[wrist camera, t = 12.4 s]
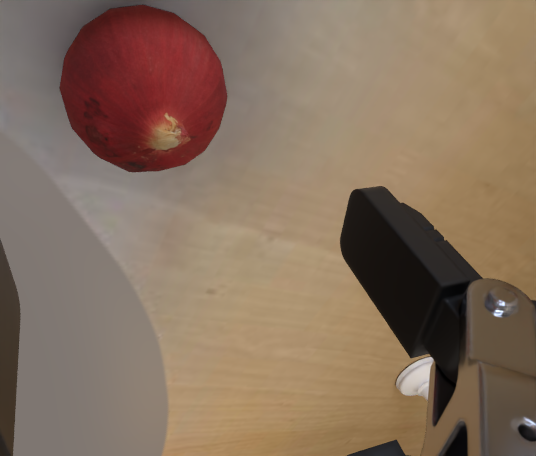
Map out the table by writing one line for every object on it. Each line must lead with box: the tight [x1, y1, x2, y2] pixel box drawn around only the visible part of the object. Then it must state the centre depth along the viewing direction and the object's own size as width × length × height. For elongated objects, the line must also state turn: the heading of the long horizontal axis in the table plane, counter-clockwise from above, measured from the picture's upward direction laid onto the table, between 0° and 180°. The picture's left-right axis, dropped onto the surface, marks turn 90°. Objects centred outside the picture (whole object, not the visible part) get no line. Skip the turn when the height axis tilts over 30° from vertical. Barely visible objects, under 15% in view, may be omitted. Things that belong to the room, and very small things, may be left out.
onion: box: [60, 5, 227, 172], centre depth 18 cm, size 6×6×8 cm
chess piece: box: [396, 357, 434, 401], centre depth 43 cm, size 5×5×10 cm
